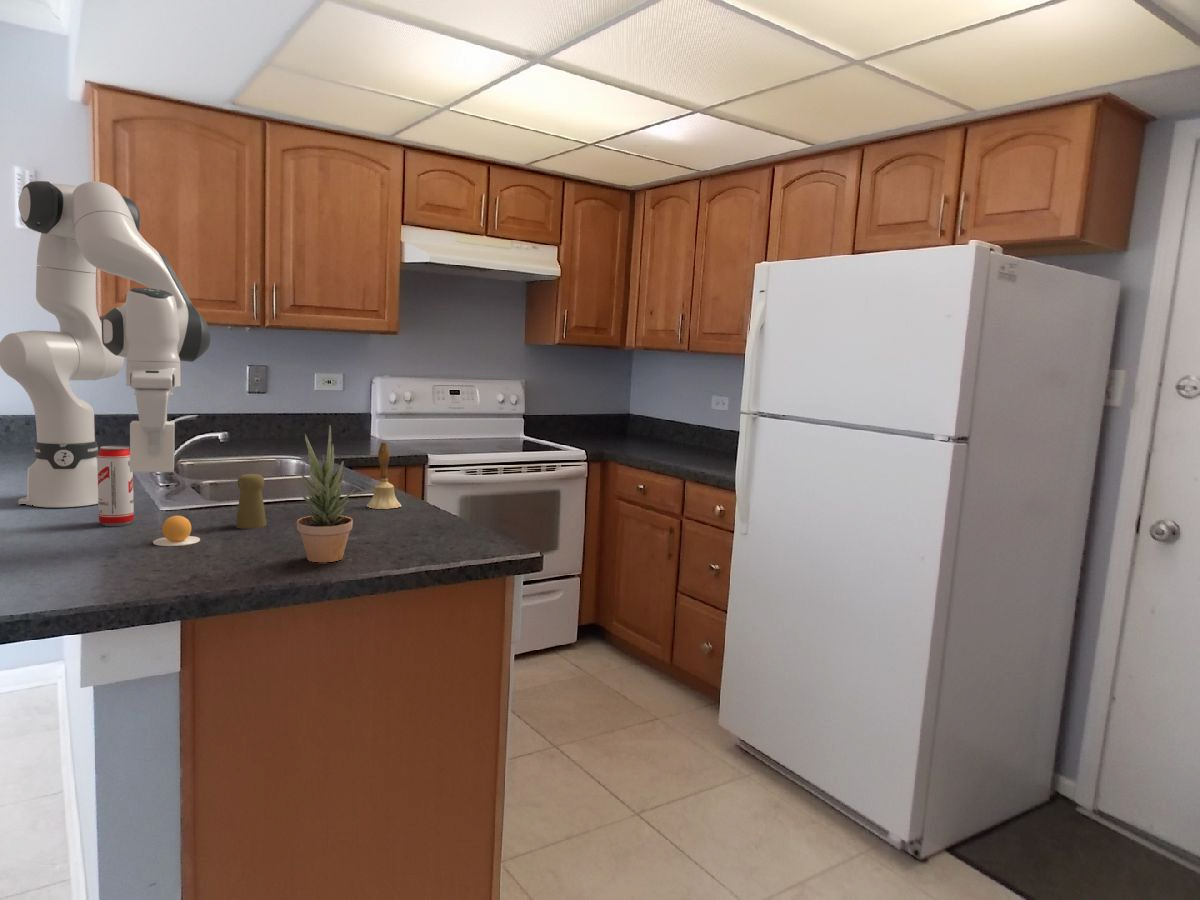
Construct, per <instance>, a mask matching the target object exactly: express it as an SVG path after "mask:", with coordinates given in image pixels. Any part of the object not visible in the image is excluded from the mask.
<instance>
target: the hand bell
mask: <svg viewBox="0 0 1200 900" xmlns="http://www.w3.org/2000/svg"><path fill="white" fill-rule="evenodd" d="M387 443H388V442H387V441H381V442H380V446H379V450H378V452H377V454H378V455H377V456H378V457H377V458H378V463H379V467H380V481H379V483H377V484H375V486H374V491H373V495H372V497H371V499H370V501H369V502H367V504H366V506H367V507H369V508H375V509H390V508H398V507H402V504H401V502H400V501H398V499H397V496H396V494H395V487H394V485H393V484H392V483H391V482H389V478H388V466H389V462H390V449H389V446H388V444H387ZM367 507H366V508H367ZM369 508H368V509H369ZM398 509H399V508H398Z"/></svg>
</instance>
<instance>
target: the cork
mask: <svg viewBox="0 0 1200 900" xmlns="http://www.w3.org/2000/svg"><path fill="white" fill-rule="evenodd" d="M237 487H238V489H239V490H240V492H239V493H240V494H239V499H238V507H237V515H236V523H235V527H236V528H237V529H244V530H245V529H247V530H249V529H250V530H252V529H253V530H254V529H261V527H262V528H265V527H266V525H267V519H266V512H265V505H264V498H263V492H262V490H263V488H264V487H265V478H264V477H263V476H262V475H261V474H259V473H258V474H257V473H247V474H246V473H245V474H242V475H239V477H238V479H237ZM264 526H265V527H264Z"/></svg>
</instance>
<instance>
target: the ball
mask: <svg viewBox="0 0 1200 900" xmlns="http://www.w3.org/2000/svg"><path fill="white" fill-rule="evenodd" d="M161 532H162V535H163V536H164V537H165V538H166V539H168V540H170V541H173V542H178V541H183V540H185V539H186V538H187V537H188V536H191V532H192V523H191V522H190V520H189V519H188V518H186V517H185V516H182V515H172V516H170V517H168V518H167V519H166V520H165V521H164V522H163V523H162V526H161ZM164 537H163V538H164Z"/></svg>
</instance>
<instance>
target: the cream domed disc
mask: <svg viewBox="0 0 1200 900" xmlns="http://www.w3.org/2000/svg"><path fill="white" fill-rule="evenodd" d="M199 542H201V538H200V537H198V536H193V535H189V536H188V537H187V538H186V539H185V540H183V541H178V542H173V541H170V540H168V539H166V538H165V537H159V538H157V539H154V540H153V541H152V543H153V545H154V546H159V547H183V546H190V545H194V544H197V543H199Z"/></svg>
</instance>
